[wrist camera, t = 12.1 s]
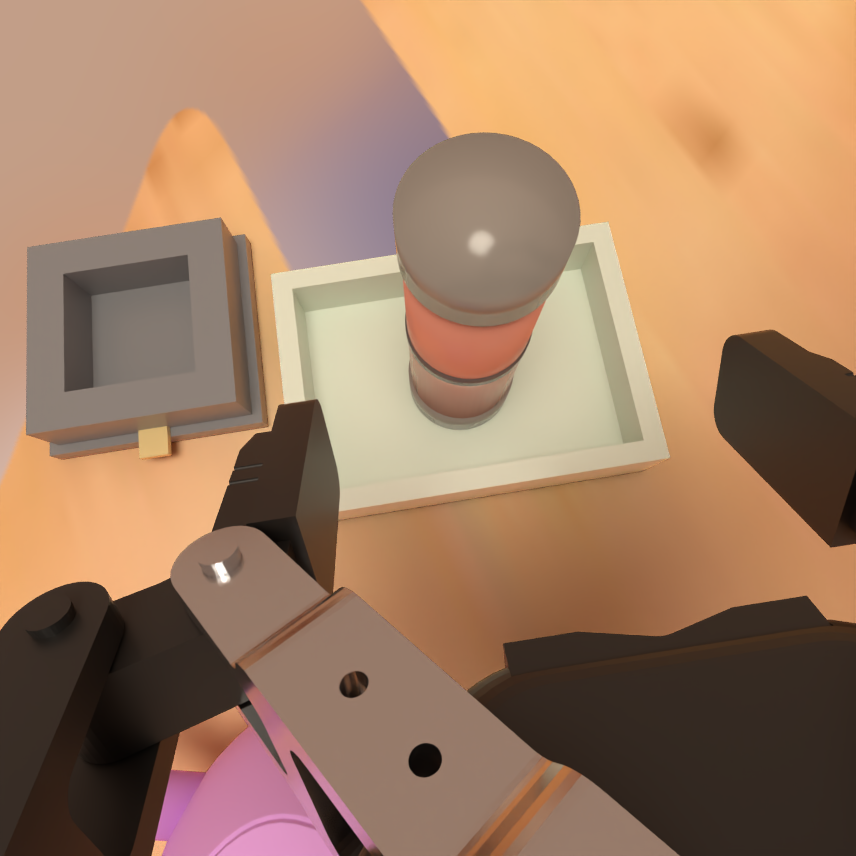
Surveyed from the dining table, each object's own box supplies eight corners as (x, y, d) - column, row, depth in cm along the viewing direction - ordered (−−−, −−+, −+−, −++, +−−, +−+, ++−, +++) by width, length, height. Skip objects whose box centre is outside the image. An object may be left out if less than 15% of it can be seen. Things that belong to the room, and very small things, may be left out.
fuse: (499, 329, 25) (560, 122, 14) (516, 422, 24) (598, 284, 13) (403, 342, 25) (381, 144, 13) (417, 436, 24) (406, 310, 12)
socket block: (249, 228, 28) (228, 191, 25) (269, 444, 25) (248, 429, 22) (60, 258, 27) (18, 223, 25) (62, 477, 25) (15, 466, 22)
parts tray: (590, 259, 27) (608, 221, 24) (642, 470, 24) (670, 457, 22) (289, 306, 27) (270, 273, 24) (313, 524, 24) (296, 518, 21)
